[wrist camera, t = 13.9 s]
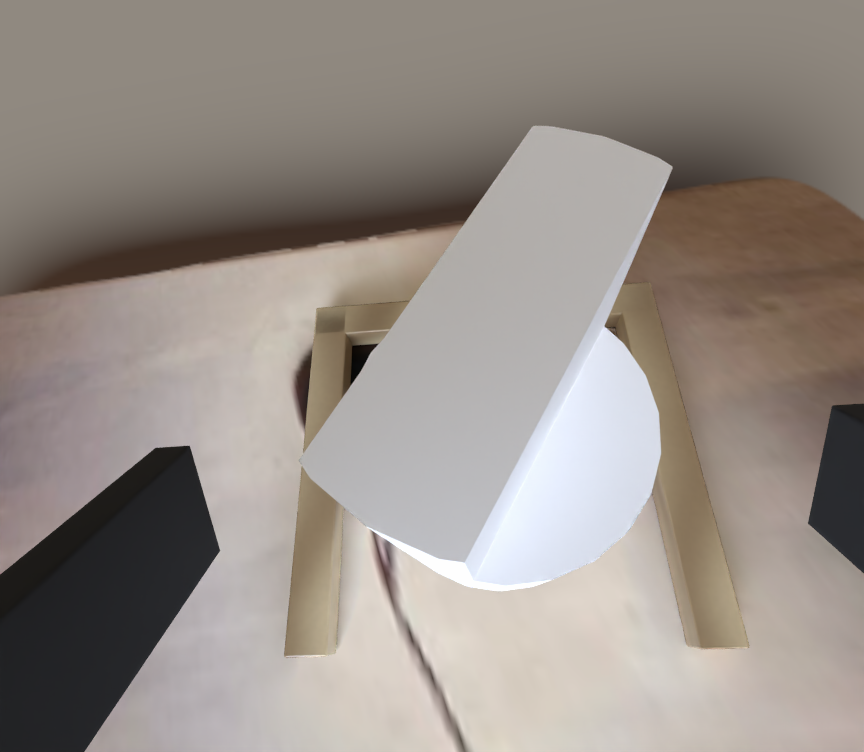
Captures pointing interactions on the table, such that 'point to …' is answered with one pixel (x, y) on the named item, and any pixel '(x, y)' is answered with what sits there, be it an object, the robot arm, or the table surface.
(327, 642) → the bay
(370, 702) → the table surface
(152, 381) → the table surface
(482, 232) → the base with upright slab
